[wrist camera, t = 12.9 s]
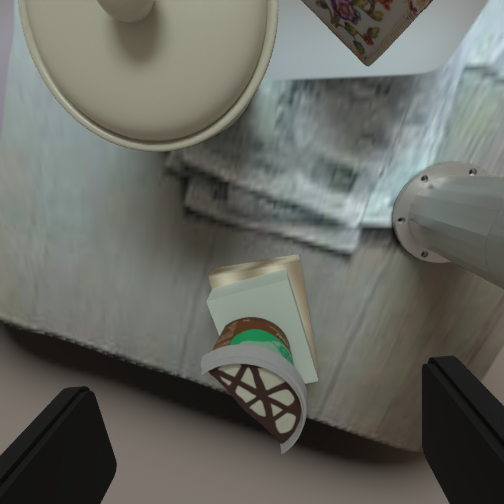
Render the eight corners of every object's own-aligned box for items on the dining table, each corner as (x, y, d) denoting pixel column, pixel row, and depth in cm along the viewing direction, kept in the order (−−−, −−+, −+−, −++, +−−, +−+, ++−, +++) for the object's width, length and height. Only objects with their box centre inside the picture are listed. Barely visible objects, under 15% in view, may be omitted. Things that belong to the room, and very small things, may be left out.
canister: (96, 46, 37) (-122, -106, 16) (228, -47, 33) (160, -381, 13) (175, 183, 40) (78, 199, 20) (301, 111, 37) (337, 43, 17)
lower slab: (298, 252, 42) (300, 261, 39) (314, 353, 46) (317, 370, 43) (213, 266, 44) (208, 276, 40) (236, 363, 48) (233, 380, 44)
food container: (321, 359, 37) (338, 426, 28) (282, 385, 39) (285, 458, 29) (255, 286, 36) (249, 331, 26) (216, 317, 37) (196, 370, 27)
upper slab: (286, 268, 39) (288, 279, 35) (314, 361, 42) (318, 380, 38) (212, 288, 40) (206, 301, 36) (245, 377, 44) (242, 397, 40)
